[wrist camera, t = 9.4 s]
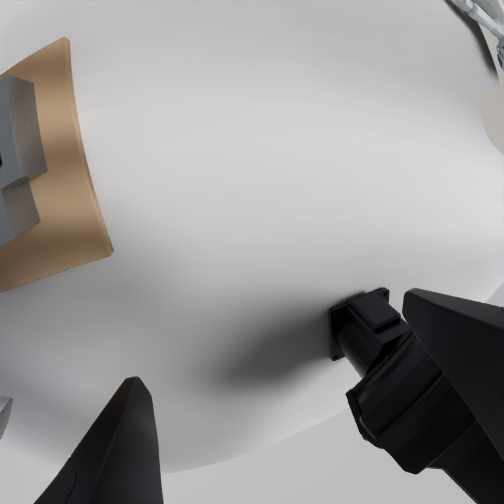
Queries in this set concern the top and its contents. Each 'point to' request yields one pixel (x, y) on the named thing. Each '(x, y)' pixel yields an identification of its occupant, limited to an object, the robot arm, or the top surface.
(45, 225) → the board
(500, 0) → the toy
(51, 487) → the robot arm
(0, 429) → the toy rocket
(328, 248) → the top surface
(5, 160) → the link
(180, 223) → the top surface
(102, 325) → the top surface
